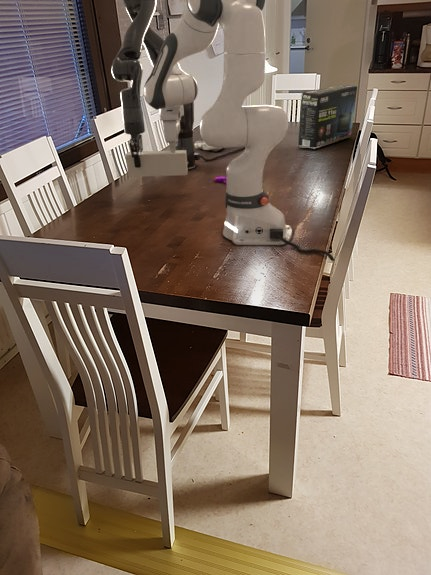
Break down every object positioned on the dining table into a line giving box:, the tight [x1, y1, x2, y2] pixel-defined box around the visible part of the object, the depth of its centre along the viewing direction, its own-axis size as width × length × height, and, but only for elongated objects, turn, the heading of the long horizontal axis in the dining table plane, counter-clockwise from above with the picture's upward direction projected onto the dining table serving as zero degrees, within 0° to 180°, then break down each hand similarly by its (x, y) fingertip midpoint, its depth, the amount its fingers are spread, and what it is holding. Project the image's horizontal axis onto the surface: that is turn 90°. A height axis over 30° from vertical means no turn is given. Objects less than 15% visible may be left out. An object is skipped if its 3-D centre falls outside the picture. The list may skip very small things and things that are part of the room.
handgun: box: [214, 176, 226, 184], centre depth 189 cm, size 21×8×2 cm, turn 11°
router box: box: [297, 84, 358, 151], centre depth 238 cm, size 36×11×27 cm, turn 134°
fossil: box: [194, 140, 223, 153], centre depth 243 cm, size 18×11×15 cm
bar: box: [124, 150, 189, 178], centre depth 177 cm, size 23×4×8 cm, turn 89°
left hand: (139, 165), depth 178 cm, fingers closed on bar, 4 cm apart
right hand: (174, 148), depth 174 cm, fingers open, 8 cm apart
